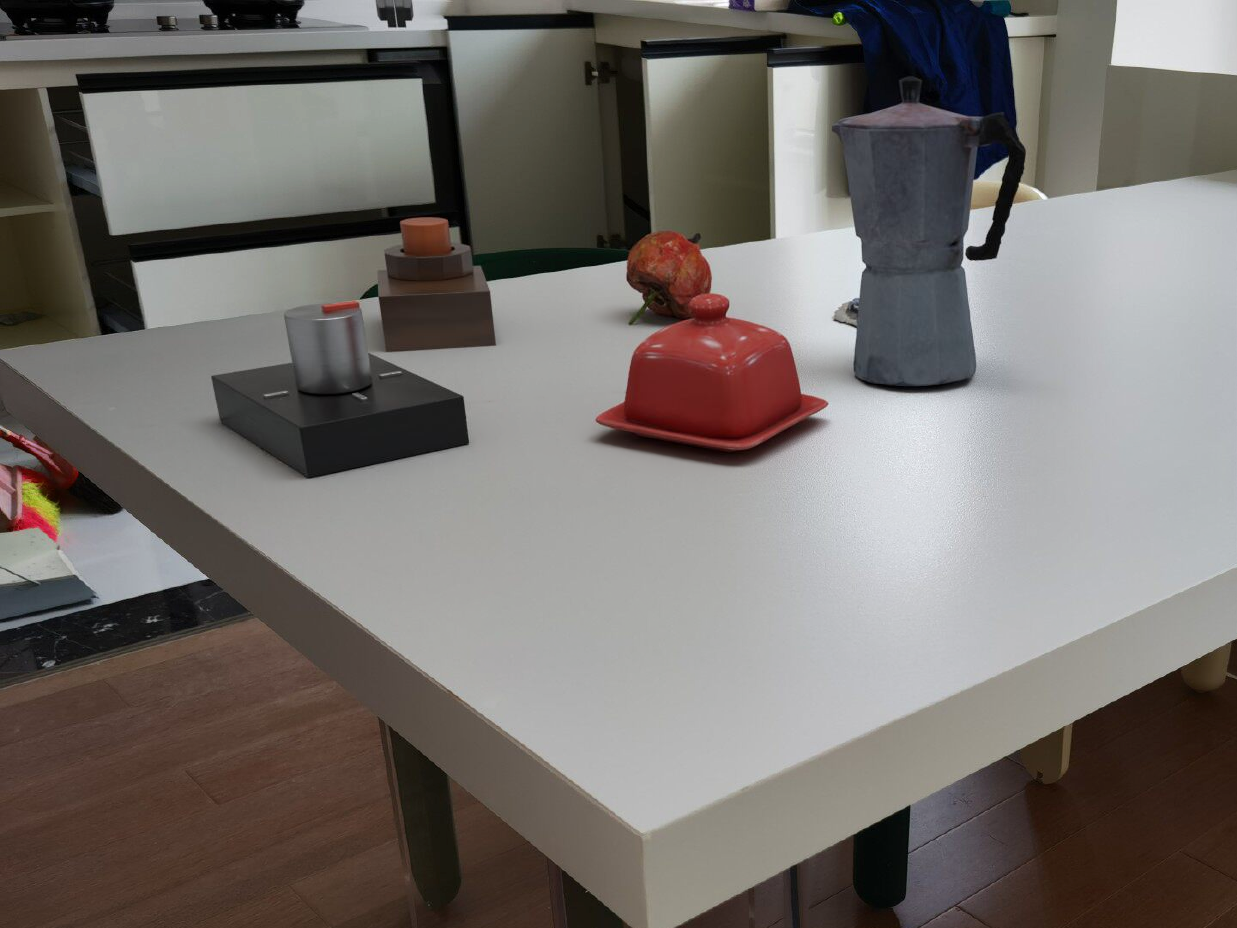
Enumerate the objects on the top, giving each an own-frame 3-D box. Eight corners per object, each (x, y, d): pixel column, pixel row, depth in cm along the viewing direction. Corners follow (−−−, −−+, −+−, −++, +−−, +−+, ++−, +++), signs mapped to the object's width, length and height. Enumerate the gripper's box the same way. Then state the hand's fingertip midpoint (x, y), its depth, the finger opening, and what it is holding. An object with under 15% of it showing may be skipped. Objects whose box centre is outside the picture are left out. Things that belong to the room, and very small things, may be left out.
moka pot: (863, 347, 108) (866, 68, 99) (1044, 377, 101) (1065, 79, 92) (795, 374, 101) (791, 75, 92) (985, 408, 94) (1001, 88, 85)
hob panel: (219, 422, 89) (210, 373, 87) (371, 394, 95) (364, 348, 93) (308, 478, 79) (299, 424, 78) (469, 443, 85) (463, 393, 84)
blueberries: (914, 308, 121) (914, 286, 120) (913, 330, 114) (914, 306, 113) (836, 306, 121) (836, 284, 120) (830, 328, 114) (830, 304, 113)
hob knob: (311, 398, 83) (297, 317, 81) (286, 382, 86) (272, 304, 84) (383, 386, 85) (372, 307, 83) (356, 371, 88) (344, 294, 86)
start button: (453, 257, 109) (449, 223, 108) (404, 259, 108) (400, 225, 107) (450, 249, 112) (446, 216, 111) (403, 251, 111) (399, 218, 110)
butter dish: (744, 469, 82) (740, 324, 78) (586, 439, 86) (574, 301, 83) (837, 419, 91) (837, 287, 87) (689, 395, 96) (683, 268, 92)
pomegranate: (675, 359, 113) (754, 271, 115) (616, 291, 108) (699, 201, 110) (635, 350, 118) (710, 266, 120) (577, 285, 114) (656, 200, 116)
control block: (496, 346, 107) (487, 266, 104) (386, 353, 104) (374, 271, 102) (485, 313, 116) (477, 240, 114) (384, 319, 114) (373, 244, 111)
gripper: (283, -188, 113) (302, -17, 108) (452, -181, 117) (478, -15, 112) (297, -111, 120) (316, 54, 115) (456, -106, 124) (481, 53, 119)
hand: (396, 19), depth 113 cm, fingers closed
